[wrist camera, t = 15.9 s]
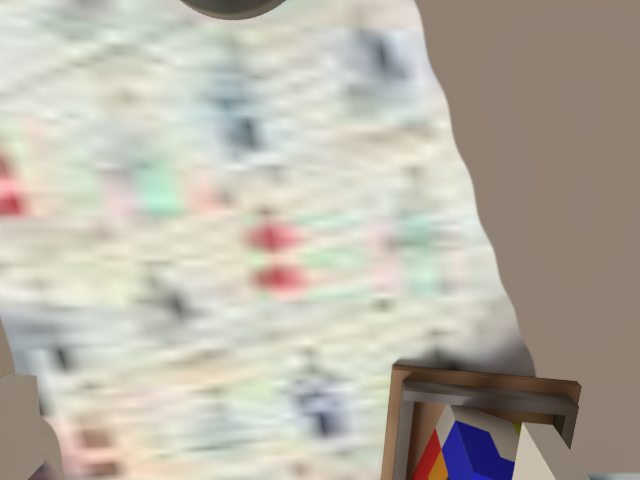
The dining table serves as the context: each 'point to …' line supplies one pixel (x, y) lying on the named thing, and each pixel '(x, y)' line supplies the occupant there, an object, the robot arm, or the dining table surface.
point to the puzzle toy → (469, 447)
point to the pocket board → (472, 391)
